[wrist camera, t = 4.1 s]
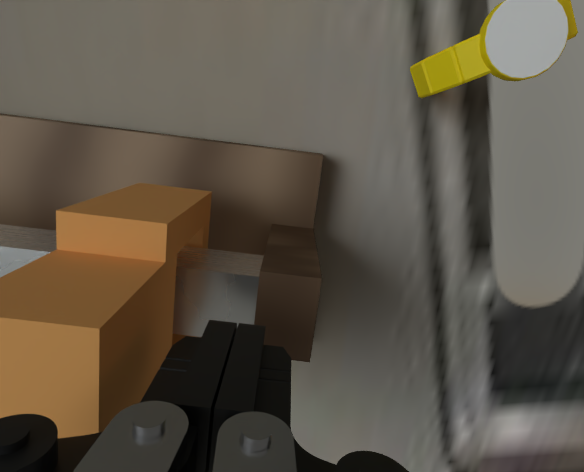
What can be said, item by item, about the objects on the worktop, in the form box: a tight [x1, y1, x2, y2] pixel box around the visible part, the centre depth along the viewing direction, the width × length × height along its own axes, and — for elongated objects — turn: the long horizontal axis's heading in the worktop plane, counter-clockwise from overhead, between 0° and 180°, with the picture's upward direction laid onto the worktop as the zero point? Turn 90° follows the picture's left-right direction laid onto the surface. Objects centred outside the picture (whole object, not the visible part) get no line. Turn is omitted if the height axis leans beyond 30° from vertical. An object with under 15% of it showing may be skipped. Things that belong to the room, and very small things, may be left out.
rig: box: [0, 114, 323, 362], centre depth 17 cm, size 24×10×10 cm, turn 83°
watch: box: [410, 0, 578, 98], centre depth 17 cm, size 6×3×6 cm, turn 112°
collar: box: [0, 183, 212, 438], centre depth 13 cm, size 3×6×10 cm, turn 173°
